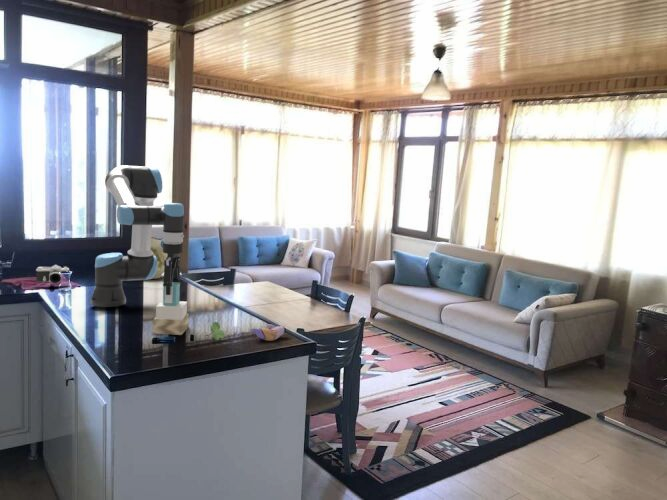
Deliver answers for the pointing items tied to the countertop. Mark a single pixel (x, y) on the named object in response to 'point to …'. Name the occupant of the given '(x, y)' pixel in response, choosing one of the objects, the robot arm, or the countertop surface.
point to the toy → (269, 332)
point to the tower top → (171, 311)
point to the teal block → (175, 294)
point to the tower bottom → (170, 326)
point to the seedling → (214, 329)
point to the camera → (49, 274)
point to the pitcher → (158, 256)
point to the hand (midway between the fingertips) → (171, 300)
